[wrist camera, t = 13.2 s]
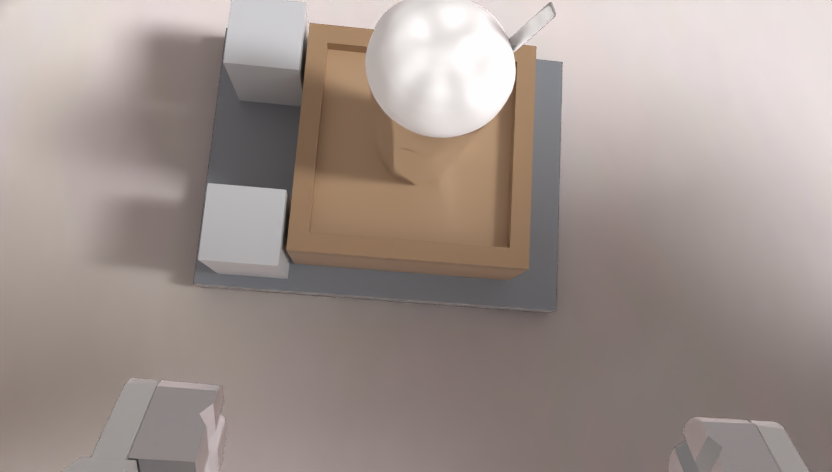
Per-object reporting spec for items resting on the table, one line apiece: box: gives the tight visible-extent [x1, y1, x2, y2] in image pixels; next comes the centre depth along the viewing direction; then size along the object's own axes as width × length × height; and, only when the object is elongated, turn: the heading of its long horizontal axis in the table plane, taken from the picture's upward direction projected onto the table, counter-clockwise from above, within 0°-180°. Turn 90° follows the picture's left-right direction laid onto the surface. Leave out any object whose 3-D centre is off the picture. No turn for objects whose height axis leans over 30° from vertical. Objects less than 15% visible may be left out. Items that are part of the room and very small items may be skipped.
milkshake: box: [365, 0, 556, 185], centre depth 24 cm, size 4×5×10 cm
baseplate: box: [193, 0, 563, 313], centre depth 30 cm, size 16×12×5 cm
